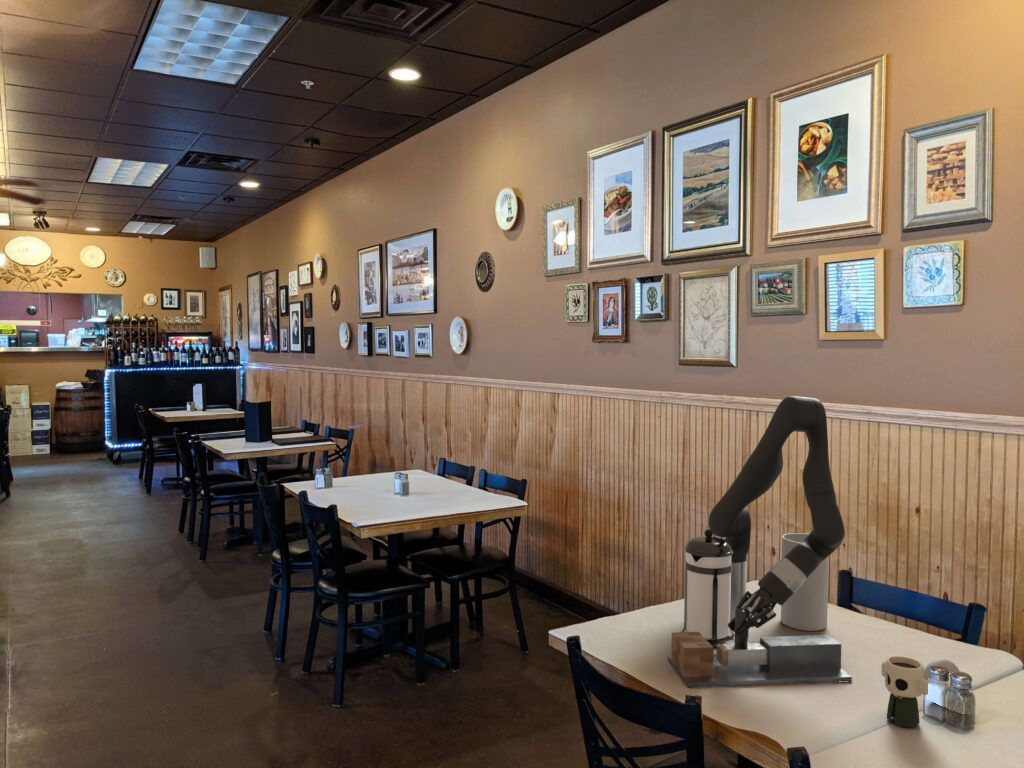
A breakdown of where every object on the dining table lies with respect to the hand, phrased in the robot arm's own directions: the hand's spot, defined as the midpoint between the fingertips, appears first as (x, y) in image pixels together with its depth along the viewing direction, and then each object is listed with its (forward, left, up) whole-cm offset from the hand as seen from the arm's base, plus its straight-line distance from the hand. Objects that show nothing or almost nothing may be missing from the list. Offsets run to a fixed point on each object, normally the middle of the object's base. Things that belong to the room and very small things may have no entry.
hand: (733, 631), depth 186 cm
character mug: (+28, +26, -10) cm, 40 cm away
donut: (+20, +40, -10) cm, 46 cm away
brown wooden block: (0, -10, -9) cm, 14 cm away
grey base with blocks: (0, +6, -10) cm, 12 cm away
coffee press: (-23, +2, -10) cm, 25 cm away
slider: (0, +9, -8) cm, 11 cm away
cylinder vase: (-30, +33, -10) cm, 46 cm away
